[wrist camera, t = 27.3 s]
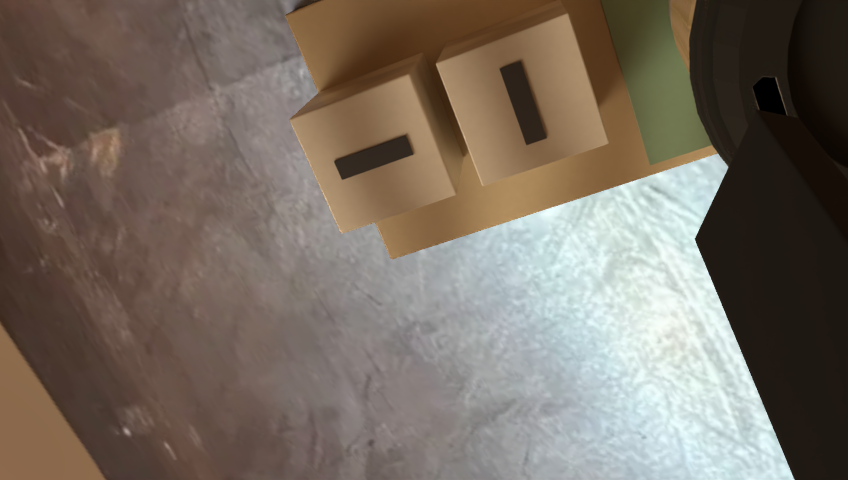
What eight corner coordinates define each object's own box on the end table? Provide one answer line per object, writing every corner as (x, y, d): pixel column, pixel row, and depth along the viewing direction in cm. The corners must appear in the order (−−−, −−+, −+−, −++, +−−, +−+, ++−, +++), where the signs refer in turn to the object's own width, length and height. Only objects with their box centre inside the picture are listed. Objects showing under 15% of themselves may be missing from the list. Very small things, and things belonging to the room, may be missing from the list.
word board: (393, 251, 38) (374, 309, 32) (290, 12, 34) (247, 30, 28) (922, 79, 32) (1009, 112, 27) (870, -229, 29) (959, -265, 23)
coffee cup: (908, 62, 31) (1228, 162, 17) (666, 154, 33) (775, 309, 20) (845, -191, 28) (1168, -317, 14) (586, -71, 31) (645, -78, 17)
